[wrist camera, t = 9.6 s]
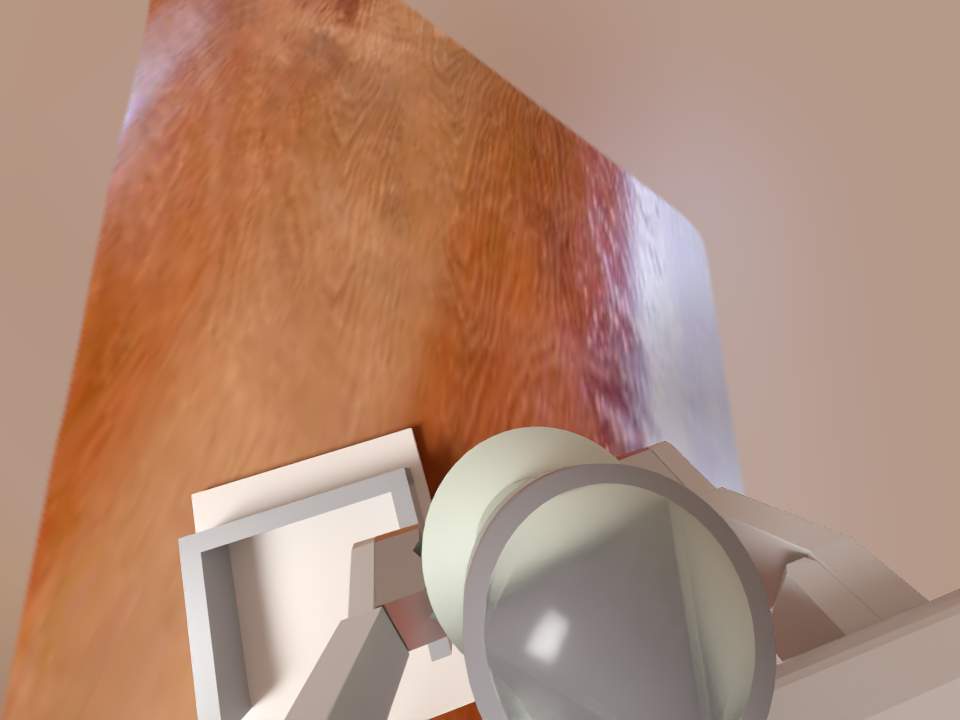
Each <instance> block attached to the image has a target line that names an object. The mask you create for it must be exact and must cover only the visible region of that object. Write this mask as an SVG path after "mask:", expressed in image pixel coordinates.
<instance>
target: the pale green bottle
mask: <svg viewBox="0 0 960 720" xmlns="http://www.w3.org/2000/svg"><path fill="white" fill-rule="evenodd" d="M422 568H423V576H424V581H425V587H426V591H427V594H428V597H429V600H430V603H431V606H432V608H433V611H434V613H435V615H436V617H437V619H438V622H439V623H440V625H441V627H442V628H443V630H444V631H445V633H446V635H447V636H448V638H449V639H450V640H451V641H452V643H453V644H454V645H455V646H456V647H457V649H458V650H459V651H460V652H461V653H462V654H463V655H464V659H465V664H466V669H467V674H468V679H469V684H470V687H471V690H472V693H473V696H474V699H475V702H476V706H477V708H478V710H479V712H480V715H481V717H482V719H483V720H767V717H768V714H769V711H770V707H771V702H772V697H773V692H774V686H775V674H776V640H775V633H774V626H773V620H772V615H771V611H770V607H769V603H768V599H767V595H766V592H765V590H764V587H763V585H762V582H761V579H760V577H759V574H758V572H757V570H756V568H755V566H754V564H753V562H752V560H751V558H750V556H749V554H748V552H747V551H746V549H745V548H744V546H743V545H742V543H741V541H740V540H739V538H738V537H737V535H736V534H735V533H734V531H733V530H732V529H731V528H730V527H729V525H728V524H727V523H726V522H725V520H724V519H723V518H722V517H721V516H720V515H719V514H718V513H717V512H716V511H715V510H714V509H713V508H712V507H711V506H710V505H709V504H708V503H706V502H705V501H704V500H703V499H701V498H700V497H699V496H697V495H696V494H695V493H694V492H692V491H691V490H689V489H688V488H686V487H684V486H683V485H681V484H679V483H678V482H676V481H674V480H672V479H670V478H668V477H665V476H663V475H661V474H659V473H656V472H653V471H650V470H647V469H643V468H640V467H635V466H629V465H623V464H622V463H621V462H620V461H619V460H618V459H617V458H616V457H614V456H613V455H612V454H611V453H609V452H608V451H607V450H606V449H604V448H603V447H601V446H600V445H598V444H596V443H595V442H593V441H591V440H590V439H587V438H585V437H583V436H581V435H578V434H576V433H572V432H569V431H566V430H562V429H556V428H550V427H526V428H518V429H514V430H510V431H505V432H503V433H500V434H498V435H495V436H492V437H490V438H489V439H487V440H485V441H483V442H481V443H479V444H478V445H477V446H475V447H474V448H472V449H471V450H470V451H468V452H467V453H466V454H465V455H464V456H463V457H462V458H461V459H460V460H459V461H458V462H456V463H455V465H454V466H453V467H452V468H451V470H450V471H449V472H448V473H447V475H446V476H445V478H444V479H443V481H442V482H441V484H440V486H439V487H438V489H437V491H436V493H435V496H434V498H433V500H432V502H431V505H430V508H429V511H428V514H427V517H426V521H425V527H424V532H423V540H422Z"/></svg>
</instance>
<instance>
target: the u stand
mask: <svg viewBox="0 0 960 720" xmlns="http://www.w3.org/2000/svg"><path fill="white" fill-rule="evenodd" d="M191 496H192V504H193V512H194V521H195V529H196V533H195V534H192V535H189V536H185V537H182V538H179V539H178V541H179V550H180V559H181V568H182V578H183V587H184V596H185V605H186V614H187V623H188V632H189V641H190V651H191V660H192V669H193V678H194V687H195V696H196V705H197V714H198V720H284V719H285V718H286V716H287V714H288V712H289V710H290V709H291V707H292V705H293V703H294V702H295V700H296V698H297V696H298V695H299V693H300V691H301V689H302V688H303V686H304V684H305V682H306V681H307V679H308V677H309V675H310V674H311V672H312V670H313V668H314V667H315V665H316V663H317V661H318V660H319V658H320V656H321V654H322V653H323V651H324V649H325V647H326V646H327V644H328V642H329V640H330V639H331V637H332V635H333V633H334V632H335V630H336V628H337V626H338V625H339V623H340V621H341V620H344V619H346V618H348V602H349V582H350V563H351V550H352V547H353V544H354V543H357V542H360V541H363V540H366V539H370V538H373V537H376V536H379V535H382V534H385V533H389V532H392V531H395V530H399V529H402V528H405V527H409V526H412V525H415V524H420V525H421V527H422V530H423V532H424V527H425V521H426V517H427V514H428V511H429V508H430V505H431V502H432V500H431V496H430V493H429V489H428V485H427V481H426V478H425V474H424V470H423V466H422V463H421V459H420V455H419V451H418V447H417V444H416V440H415V436H414V432H413V429H412V428H409V429H405V430H402V431H399V432H396V433H392V434H389V435H386V436H383V437H379V438H376V439H373V440H369V441H366V442H363V443H360V444H356V445H353V446H350V447H346V448H343V449H340V450H337V451H333V452H330V453H327V454H323V455H320V456H317V457H314V458H310V459H307V460H304V461H300V462H297V463H294V464H291V465H287V466H284V467H281V468H277V469H274V470H271V471H268V472H264V473H261V474H258V475H255V476H251V477H248V478H245V479H241V480H238V481H235V482H232V483H228V484H225V485H222V486H218V487H215V488H212V489H209V490H205V491H202V492H199V493H195V494H192V495H191ZM409 654H410V655H409V658H408V660H407V663H406V666H405V669H404V672H403V675H402V678H401V681H400V684H399V687H398V690H397V693H396V695H395V698H394V701H393V704H392V707H391V710H390V713H389V716H388V719H387V720H428V719H431V718H433V717H436V716H438V715H441V714H443V713H446V712H449V711H451V710H454V709H456V708H459V707H462V706H464V705H467V704H469V703H472V702H474V701H475V699H474V696H473V693H472V690H471V687H470V684H469V679H468V674H467V669H466V664H465V659H464V655H463V654H462V653H461V652H460V651H459V650H458V649H457V647H456V646H455V645H454V644H453V643H452V641H451V640H450V639H449V638H448V636H447V637H444V638H442V639H439V640H437V641H434V642H432V643H429V644H427V645H424V646H422V647H419V648H417V649H414V650H412V651H409Z"/></svg>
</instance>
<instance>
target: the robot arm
mask: <svg viewBox="0 0 960 720" xmlns="http://www.w3.org/2000/svg"><path fill="white" fill-rule="evenodd" d="M616 458H617V459H618V460H619V461H620V462H621V463H622V464H623V465H629V466H635V467H640V468H643V469H647V470H650V471H653V472H656V473H659V474H661V475H663V476H665V477H668V478H670V479H672V480H674V481H676V482H678V483H679V484H681V485H683V486H684V487H686V488H688V489H689V490H691V491H692V492H694V493H695V494H696V495H697V496H699V497H700V498H701V499H703V500H704V501H705V502H706V503H708V504H709V505H710V506H711V507H712V508H713V509H714V510H715V511H716V512H717V513H718V514H719V515H720V516H721V517H722V518H723V519H724V520H725V522H726V523H727V524H728V525H729V527H730V528H731V529H732V530H733V531H734V533H735V534H736V535H737V537H738V538H739V540H740V541H741V543H742V545H743V546H744V548H745V549H746V551H747V552H748V554H749V556H750V558H751V560H752V562H753V564H754V566H755V568H756V570H757V572H758V574H759V577H760V579H761V582H762V585H763V587H764V590H765V592H766V595H767V599H768V603H769V607H770V609H771V615H772V620H773V626H774V633H775V640H776V654H777V655H778V656H779V657H780V659H781V660H782V661H783V662H781V663H778V664H776V674H775V686H774V692H773V697H772V702H771V707H770V711H769V714H768V717H767V720H960V589H958V590H956V591H953V592H951V593H948V594H946V595H944V596H941V597H939V598H936V599H934V600H931V601H928V600H927V599H926V598H925V597H923V596H922V595H921V594H920V593H918V592H917V591H916V590H915V589H913V588H912V587H911V586H910V585H909V584H908V583H906V582H905V581H904V580H903V579H901V578H900V577H899V576H898V575H896V574H895V573H894V572H893V571H892V570H891V569H889V568H888V567H887V566H886V565H884V564H883V563H882V562H881V561H879V560H878V559H877V558H876V557H875V556H873V555H872V554H871V553H870V552H869V551H867V550H866V549H865V548H864V547H863V546H861V545H860V544H859V543H858V542H856V541H855V540H854V539H853V538H851V537H849V536H846V535H843V534H841V533H838V532H836V531H833V530H831V529H828V528H826V527H823V526H820V525H818V524H815V523H813V522H810V521H808V520H805V519H802V518H800V517H797V516H795V515H792V514H790V513H787V512H785V511H782V510H779V509H777V508H774V507H771V506H769V505H767V504H764V503H761V502H759V501H756V500H753V499H751V498H749V497H746V496H743V495H741V494H738V493H736V492H733V491H731V490H728V489H726V488H723V487H722V488H718V489H716V488H715V487H714V486H713V485H712V484H711V483H710V482H709V481H708V480H707V479H706V478H705V477H704V476H703V475H702V474H701V473H700V472H699V471H698V470H697V469H696V468H695V467H694V466H693V465H692V464H691V463H690V462H688V461H687V460H686V459H685V458H684V457H683V456H682V455H681V454H680V453H679V452H678V451H677V450H676V449H675V448H674V447H673V446H672V445H671V444H670V443H668V442H666V441H664V442H661V443H658V444H655V445H652V446H649V447H646V448H642V449H639V450H636V451H633V452H630V453H627V454H625V455H622V456H619V457H616ZM422 540H423V530H422V527H421V525H420V524H415V525H412V526H409V527H405V528H402V529H399V530H395V531H392V532H389V533H385V534H382V535H379V536H376V537H373V538H370V539H366V540H363V541H360V542H357V543H354V544H353V547H352V550H351V563H350V582H349V602H348V618H346V619H344V620H341V621H340V623H339V625H338V626H337V628H336V630H335V632H334V633H333V635H332V637H331V639H330V640H329V642H328V644H327V646H326V647H325V649H324V651H323V653H322V654H321V656H320V658H319V660H318V661H317V663H316V665H315V667H314V668H313V670H312V672H311V674H310V675H309V677H308V679H307V681H306V682H305V684H304V686H303V688H302V689H301V691H300V693H299V695H298V696H297V698H296V700H295V702H294V703H293V705H292V707H291V709H290V710H289V712H288V714H287V716H286V718H285V719H284V720H387V719H388V716H389V713H390V710H391V707H392V704H393V701H394V698H395V695H396V693H397V690H398V687H399V684H400V681H401V678H402V675H403V672H404V669H405V666H406V663H407V660H408V658H409V655H410V654H409V651H412V650H414V649H417V648H419V647H422V646H424V645H427V644H429V643H432V642H434V641H437V640H439V639H442V638H444V637H447V635H446V633H445V631H444V630H443V628H442V627H441V625H440V623H439V622H438V619H437V617H436V615H435V613H434V611H433V608H432V606H431V603H430V600H429V597H428V594H427V591H426V587H425V581H424V576H423V568H422Z"/></svg>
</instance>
